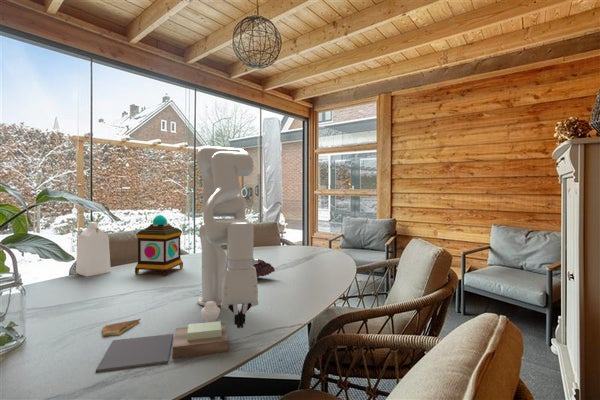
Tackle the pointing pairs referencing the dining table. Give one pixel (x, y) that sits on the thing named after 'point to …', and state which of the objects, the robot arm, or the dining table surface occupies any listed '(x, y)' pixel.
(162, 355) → the mat
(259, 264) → the pine cone
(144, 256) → the decorative lantern
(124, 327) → the shard
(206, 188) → the robot arm
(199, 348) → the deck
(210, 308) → the white swirled ornament
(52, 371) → the dining table surface
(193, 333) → the pale green block
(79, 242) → the milk
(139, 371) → the dining table surface
